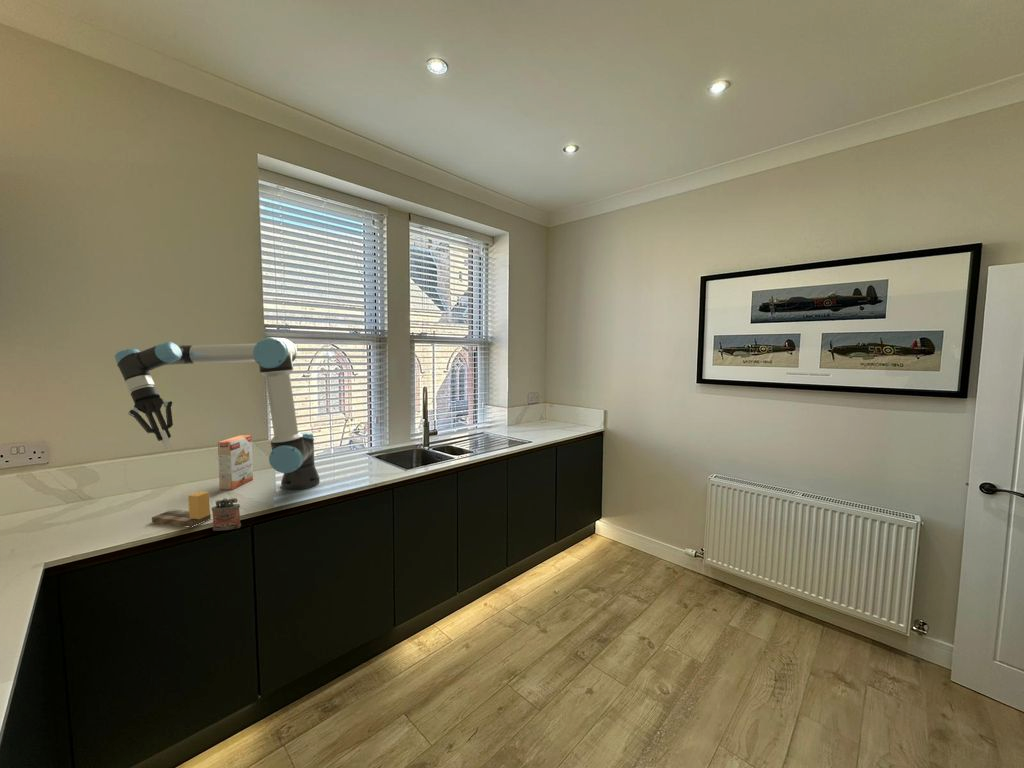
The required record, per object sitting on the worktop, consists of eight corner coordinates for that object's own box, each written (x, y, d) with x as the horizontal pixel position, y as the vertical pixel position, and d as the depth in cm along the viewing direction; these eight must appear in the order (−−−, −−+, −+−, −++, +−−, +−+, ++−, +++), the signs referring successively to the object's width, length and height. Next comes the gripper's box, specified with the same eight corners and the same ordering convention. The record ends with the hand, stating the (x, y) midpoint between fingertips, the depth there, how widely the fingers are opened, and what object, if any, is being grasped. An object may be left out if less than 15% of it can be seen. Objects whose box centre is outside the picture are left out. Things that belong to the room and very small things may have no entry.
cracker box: (233, 490, 174) (230, 441, 172) (219, 490, 174) (216, 441, 172) (254, 479, 188) (252, 434, 186) (241, 479, 188) (239, 434, 186)
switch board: (152, 522, 142) (151, 516, 141) (172, 514, 148) (172, 509, 148) (191, 527, 138) (190, 521, 138) (210, 519, 145) (210, 513, 144)
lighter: (211, 531, 135) (209, 502, 134) (215, 527, 138) (213, 498, 138) (238, 528, 137) (237, 499, 136) (242, 524, 141) (240, 496, 140)
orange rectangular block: (189, 518, 140) (188, 495, 139) (200, 513, 143) (199, 491, 143) (199, 519, 139) (197, 496, 138) (210, 514, 142) (208, 492, 142)
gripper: (162, 388, 160) (186, 443, 160) (118, 397, 149) (144, 456, 149) (166, 382, 155) (191, 438, 155) (121, 390, 145) (148, 451, 145)
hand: (168, 447), depth 152 cm, fingers closed
